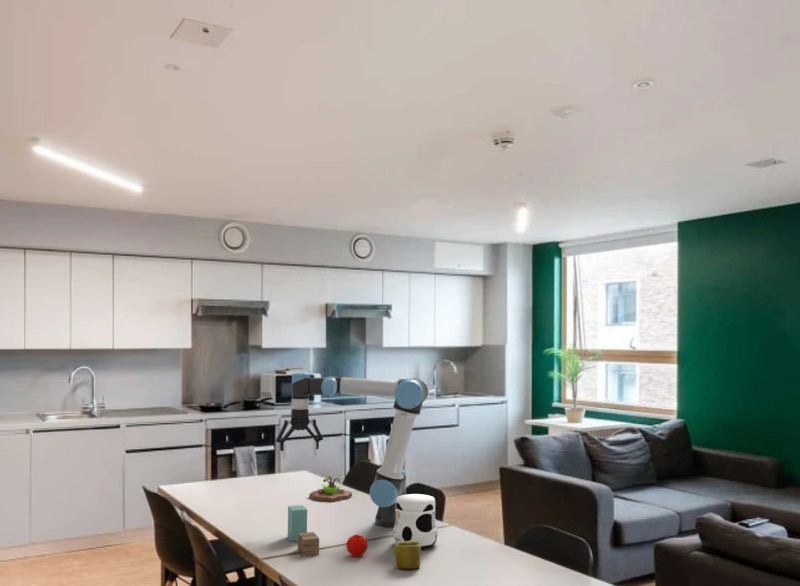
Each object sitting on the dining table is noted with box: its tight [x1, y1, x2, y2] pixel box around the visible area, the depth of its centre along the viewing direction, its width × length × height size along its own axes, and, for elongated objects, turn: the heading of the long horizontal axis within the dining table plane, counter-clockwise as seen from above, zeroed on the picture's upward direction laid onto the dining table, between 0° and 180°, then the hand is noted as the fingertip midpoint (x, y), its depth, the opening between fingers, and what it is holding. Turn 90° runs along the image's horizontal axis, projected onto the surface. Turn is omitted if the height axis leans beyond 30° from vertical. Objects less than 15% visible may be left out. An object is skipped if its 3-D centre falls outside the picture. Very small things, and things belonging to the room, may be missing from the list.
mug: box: [393, 541, 422, 570], centre depth 250 cm, size 12×10×10 cm
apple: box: [345, 534, 368, 558], centre depth 261 cm, size 8×8×7 cm
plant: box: [308, 475, 353, 503], centre depth 357 cm, size 20×20×11 cm
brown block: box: [297, 531, 320, 557], centre depth 265 cm, size 9×6×6 cm
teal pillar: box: [287, 504, 308, 542], centre depth 283 cm, size 8×6×12 cm
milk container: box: [392, 493, 438, 549], centre depth 276 cm, size 17×17×18 cm
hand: (299, 457), depth 305 cm, fingers open, 13 cm apart
